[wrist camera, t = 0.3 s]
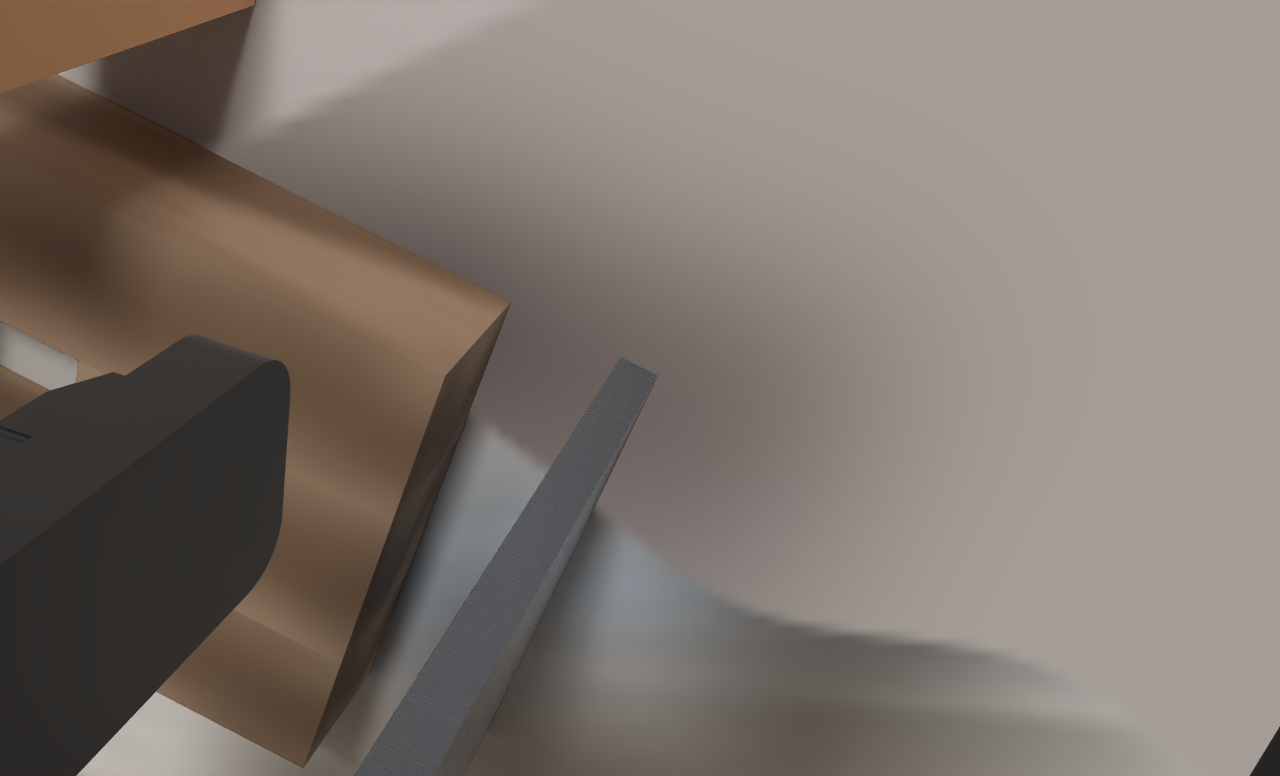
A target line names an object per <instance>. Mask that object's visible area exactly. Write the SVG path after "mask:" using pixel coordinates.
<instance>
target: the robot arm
mask: <svg viewBox="0 0 1280 776" xmlns="http://www.w3.org/2000/svg"><path fill="white" fill-rule="evenodd" d="M290 390H291V385H290V377H289V373H288V370H287V368H286V366H285V365H284V364H283V363H282V362H280V361H278V360H275V359H272V358H269V357H265V356H262V355H259V354H256V353H253V352H250V351H247V350H243V349H240V348H237V347H234V346H231V345H228V344H225V343H222V342H218V341H215V340H212V339H209V338H206V337H203V336H200V335H190V336H186V337H184V338H182V339H180V340H179V341H177V342H176V343H174V344H173V345H171V346H170V347H168V348H166V349H165V350H163V351H162V352H160V353H159V354H157V355H156V356H154V357H153V358H151V359H150V360H148V361H147V362H145V363H144V364H142V365H141V366H139V367H138V368H136V369H135V370H133V371H132V372H130V373H129V374H127V375H125V376H124V375H121V374H118V373H115V372H111V373H108V374H105V375H101V376H98V377H95V378H91V379H88V380H84V381H81V382H78V383H74V384H71V385H68V386H64V387H61V388H58V389H54V390H51V391H47V392H45V393H44V394H42V395H40V396H39V397H37V398H36V399H34V400H32V401H31V402H29V403H28V404H26V405H24V406H23V407H21V408H20V409H18V410H16V411H15V412H13V413H11V414H10V415H8V416H7V417H5V418H3V419H2V420H0V776H76V775H77V774H78V773H79V772H80V771H81V770H82V769H83V768H84V767H85V766H86V765H87V764H88V763H89V762H90V761H91V759H92V758H93V757H94V756H95V755H96V754H97V753H98V752H99V751H100V750H101V749H102V748H103V747H104V746H105V745H106V744H107V743H108V742H109V740H110V739H111V738H112V737H113V736H114V735H115V734H116V733H117V732H118V731H119V730H120V729H121V728H122V727H123V726H124V725H125V724H126V723H127V721H128V720H129V719H130V718H131V717H132V716H133V715H134V714H135V713H136V712H137V711H138V710H139V709H140V708H141V707H142V706H143V705H144V704H145V702H146V701H147V700H148V699H149V698H150V697H151V696H152V695H153V694H154V693H155V692H156V691H157V690H158V689H159V688H160V687H161V686H162V685H163V683H164V682H165V681H166V680H167V679H168V678H169V677H170V676H171V675H172V674H173V673H174V672H175V671H176V670H177V669H178V668H179V667H180V665H181V664H182V663H183V662H184V661H185V660H186V659H187V658H188V657H189V656H190V655H191V654H192V653H193V652H194V651H195V650H196V649H197V648H198V646H199V645H200V644H201V643H202V642H203V641H204V640H205V639H206V638H207V637H208V636H209V635H210V634H211V633H212V632H213V631H214V630H215V629H216V627H217V626H218V625H219V624H220V623H221V622H222V621H223V620H224V619H225V618H226V617H227V616H228V615H229V614H230V613H231V612H232V611H233V610H234V608H235V607H236V606H237V605H238V604H239V603H240V602H241V601H242V600H243V599H244V598H245V597H246V596H247V595H248V594H249V592H250V591H251V590H252V589H253V588H254V586H255V585H256V584H257V582H258V581H259V579H260V578H261V576H262V574H263V573H264V571H265V569H266V567H267V565H268V563H269V561H270V559H271V556H272V554H273V552H274V549H275V546H276V543H277V540H278V536H279V533H280V528H281V522H282V513H283V498H284V483H285V468H286V453H287V438H288V423H289V408H290ZM1250 776H1280V727H1279V729H1278V731H1277V732H1276V734H1275V735H1274V737H1273V739H1272V740H1271V742H1270V744H1269V745H1268V747H1267V748H1266V750H1265V752H1264V753H1263V755H1262V757H1261V758H1260V760H1259V761H1258V763H1257V765H1256V766H1255V768H1254V770H1253V771H1252V773H1251V775H1250Z"/></svg>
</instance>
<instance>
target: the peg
mask: <svg viewBox="0 0 1280 776" xmlns="http://www.w3.org/2000/svg"><path fill="white" fill-rule="evenodd" d="M254 4H255V0H0V93H3V92H6V91H9V90H12V89H15V88H18V87H21V86H23V85H26V84H29V83H32V82H35V81H38V80H41V79H44V78H46V77H49V76H52V75H55V74H58V73H61V72H64V71H67V70H69V69H72V68H75V67H78V66H81V65H84V64H87V63H90V62H92V61H95V60H98V59H101V58H104V57H107V56H110V55H113V54H115V53H118V52H121V51H124V50H127V49H130V48H133V47H136V46H138V45H141V44H144V43H147V42H150V41H153V40H156V39H159V38H161V37H164V36H167V35H170V34H173V33H176V32H179V31H182V30H184V29H187V28H190V27H193V26H196V25H199V24H202V23H205V22H207V21H210V20H213V19H216V18H219V17H222V16H225V15H228V14H231V13H233V12H236V11H239V10H242V9H245V8H248V7H251V6H254Z"/></svg>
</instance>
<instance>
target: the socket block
mask: <svg viewBox="0 0 1280 776" xmlns="http://www.w3.org/2000/svg"><path fill="white" fill-rule="evenodd" d="M510 303H511V302H509V301H507V300H505V299H503V298H501V297H499V296H497V295H495V294H493V293H491V292H489V291H487V290H485V289H483V288H481V287H479V286H477V285H475V284H473V283H471V282H469V281H467V280H465V279H463V278H461V277H459V276H457V275H455V274H453V273H451V272H449V271H447V270H445V269H443V268H441V267H439V266H437V265H435V264H433V263H431V262H429V261H427V260H425V259H423V258H421V257H419V256H417V255H415V254H413V253H411V252H409V251H407V250H405V249H403V248H401V247H399V246H398V245H395V244H393V243H392V242H389V241H388V240H386V239H384V238H382V237H380V236H377V235H376V234H374V233H372V232H369V231H368V230H366V229H364V228H362V227H360V226H357V225H355V224H354V223H352V222H350V221H348V220H346V219H344V218H342V217H339V216H338V215H336V214H334V213H331V212H329V211H328V210H326V209H324V208H322V207H320V206H318V205H316V204H314V203H312V202H309V201H308V200H306V199H304V198H302V197H300V196H298V195H296V194H294V193H292V192H290V191H288V190H286V189H284V188H282V187H280V186H278V185H276V184H274V183H272V182H270V181H268V180H266V179H264V178H262V177H260V176H258V175H256V174H254V173H252V172H250V171H248V170H246V169H243V168H242V167H240V166H238V165H236V164H234V163H232V162H230V161H228V160H226V159H224V158H222V157H220V156H218V155H216V154H214V153H212V152H210V151H208V150H206V149H204V148H202V147H200V146H198V145H196V144H194V143H192V142H190V141H188V140H186V139H184V138H182V137H180V136H178V135H176V134H174V133H172V132H170V131H168V130H166V129H164V128H162V127H160V126H158V125H156V124H154V123H152V122H150V121H148V120H146V119H144V118H142V117H140V116H138V115H136V114H134V113H132V112H130V111H128V110H126V109H124V108H122V107H120V106H118V105H116V104H114V103H112V102H110V101H108V100H106V99H104V98H102V97H100V96H98V95H96V94H94V93H92V92H90V91H88V90H86V89H84V88H82V87H80V86H78V85H76V84H74V83H72V82H70V81H68V80H66V79H64V78H62V77H60V76H58V75H56V74H55V75H52V76H49V77H46V78H44V79H41V80H38V81H35V82H32V83H29V84H26V85H23V86H21V87H18V88H15V89H12V90H9V91H6V92H3V93H0V321H2V322H4V323H6V324H8V325H10V326H12V327H14V328H16V329H18V330H20V331H22V332H24V333H26V334H28V335H29V336H31V337H33V338H35V339H37V340H39V341H41V342H43V343H45V344H47V345H49V346H51V347H53V348H55V349H57V350H59V351H61V352H63V353H65V354H67V355H69V356H71V357H73V358H74V359H76V360H78V361H79V364H78V370H77V376H76V383H78V382H81V381H84V380H88V379H91V378H95V377H98V376H101V375H105V374H108V373H111V372H115V373H118V374H121V375H124V376H125V375H127V374H129V373H130V372H132V371H133V370H135V369H136V368H138V367H139V366H141V365H142V364H144V363H145V362H147V361H148V360H150V359H151V358H153V357H154V356H156V355H157V354H159V353H160V352H162V351H163V350H165V349H166V348H168V347H170V346H171V345H173V344H174V343H176V342H177V341H179V340H180V339H182V338H184V337H186V336H190V335H200V336H203V337H206V338H209V339H212V340H215V341H218V342H222V343H225V344H228V345H231V346H234V347H237V348H240V349H243V350H247V351H250V352H253V353H256V354H259V355H262V356H265V357H269V358H272V359H275V360H278V361H280V362H282V363H283V364H284V365H285V366H286V368H287V370H288V373H289V377H290V385H291V390H290V408H289V423H288V438H287V453H286V468H285V483H284V498H283V513H282V522H281V528H280V533H279V536H278V540H277V543H276V546H275V549H274V552H273V554H272V556H271V559H270V561H269V563H268V565H267V567H266V569H265V571H264V573H263V574H262V576H261V578H260V579H259V581H258V582H257V584H256V585H255V586H254V588H253V589H252V590H251V591H250V592H249V594H248V595H247V596H246V597H245V598H244V599H243V600H242V601H241V602H240V603H239V604H238V605H237V606H236V607H235V608H234V610H233V611H232V612H231V613H230V614H229V615H228V616H227V617H226V618H225V619H224V620H223V621H222V622H221V623H220V624H219V625H218V626H217V627H216V629H215V630H214V631H213V632H212V633H211V634H210V635H209V636H208V637H207V638H206V639H205V640H204V641H203V642H202V643H201V644H200V645H199V646H198V648H197V649H196V650H195V651H194V652H193V653H192V654H191V655H190V656H189V657H188V658H187V659H186V660H185V661H184V662H183V663H182V664H181V665H180V667H179V668H178V669H177V670H176V671H175V672H174V673H173V674H172V675H171V676H170V677H169V678H168V679H167V680H166V681H165V682H164V683H163V685H162V686H161V687H160V688H159V689H158V690H157V691H156V692H158V693H160V694H162V695H163V696H165V697H167V698H169V699H171V700H173V701H175V702H177V703H179V704H181V705H183V706H185V707H187V708H188V709H190V710H192V711H194V712H196V713H198V714H200V715H202V716H204V717H206V718H208V719H210V720H212V721H213V722H215V723H217V724H219V725H221V726H223V727H225V728H227V729H229V730H231V731H233V732H235V733H236V734H238V735H240V736H242V737H244V738H246V739H248V740H250V741H252V742H254V743H256V744H258V745H260V746H261V747H263V748H265V749H267V750H269V751H271V752H273V753H275V754H277V755H279V756H281V757H283V758H284V759H286V760H288V761H290V762H292V763H294V764H296V765H298V766H300V767H302V768H304V766H305V765H306V763H307V762H308V761H309V759H310V758H311V756H312V755H313V753H314V752H315V750H316V749H317V748H318V746H319V745H320V743H321V742H322V740H323V739H324V737H325V736H326V735H327V733H328V732H329V730H330V729H331V727H332V726H333V724H334V723H335V722H336V720H337V719H338V717H339V716H340V714H341V713H342V711H343V710H344V709H345V707H346V706H347V704H348V703H349V701H350V700H351V698H352V697H353V696H354V694H355V693H356V691H357V690H358V688H359V687H360V685H361V684H362V683H363V681H364V680H365V678H366V677H367V675H368V674H369V672H370V669H371V667H372V664H373V661H374V659H375V656H376V653H377V651H378V648H379V646H380V643H381V640H382V638H383V635H384V633H385V630H386V627H387V625H388V622H389V620H390V617H391V614H392V612H393V609H394V606H395V604H396V601H397V599H398V596H399V593H400V591H401V588H402V586H403V583H404V580H405V578H406V575H407V572H408V570H409V567H410V565H411V562H412V559H413V557H414V554H415V552H416V549H417V546H418V544H419V541H420V539H421V536H422V533H423V531H424V528H425V525H426V523H427V520H428V518H429V515H430V512H431V510H432V507H433V505H434V502H435V499H436V497H437V494H438V492H439V489H440V486H441V484H442V481H443V478H444V476H445V473H446V471H447V468H448V465H449V463H450V460H451V458H452V455H453V452H454V450H455V447H456V445H457V442H458V439H459V437H460V434H461V431H462V429H463V426H464V424H465V421H466V418H467V416H468V413H469V411H470V408H471V405H472V403H473V400H474V398H475V395H476V392H477V390H478V387H479V384H480V382H481V379H482V377H483V374H484V371H485V369H486V366H487V364H488V361H489V358H490V356H491V353H492V351H493V347H494V345H495V342H496V340H497V337H498V335H499V332H500V330H501V327H502V324H503V322H504V319H505V316H506V314H507V311H508V308H509V306H510ZM47 391H49V390H47V389H46V388H44V387H42V386H40V385H38V384H36V383H34V382H32V381H30V380H28V379H26V378H24V377H22V376H20V375H18V374H16V373H14V372H12V371H10V370H8V369H6V368H5V367H3V366H1V365H0V420H2V419H3V418H5V417H7V416H8V415H10V414H11V413H13V412H15V411H16V410H18V409H20V408H21V407H23V406H24V405H26V404H28V403H29V402H31V401H32V400H34V399H36V398H37V397H39V396H40V395H42V394H44V393H45V392H47Z"/></svg>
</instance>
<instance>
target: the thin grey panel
mask: <svg viewBox="0 0 1280 776" xmlns="http://www.w3.org/2000/svg"><path fill="white" fill-rule="evenodd" d="M656 378H657V375H655V374H653V373H651V372H649V371H647V370H645V369H643V368H641V367H639V366H637V365H635V364H633V363H631V362H629V361H627V360H625V359H623V358H620V360H619V361H618V363H617V364H616V366H615V367H614V369H613V371H612V372H611V374H610V375H609V377H608V379H607V380H606V382H605V383H604V385H603V386H602V388H601V390H600V391H599V393H598V394H597V396H596V397H595V399H594V401H593V402H592V404H591V405H590V407H589V408H588V410H587V411H586V413H585V415H584V416H583V418H582V419H581V421H580V422H579V424H578V426H577V427H576V429H575V430H574V432H573V433H572V435H571V436H570V438H569V440H568V441H567V443H566V444H565V446H564V448H563V449H562V451H561V452H560V454H559V455H558V457H557V459H556V460H555V462H554V463H553V465H552V466H551V468H550V469H549V471H548V473H547V474H546V476H545V477H544V479H543V480H542V482H541V483H540V485H539V487H538V488H537V490H536V491H535V493H534V494H533V496H532V498H531V499H530V501H529V502H528V504H527V505H526V507H525V509H524V510H523V512H522V513H521V515H520V516H519V518H518V520H517V521H516V523H515V524H514V526H513V527H512V529H511V531H510V532H509V534H508V535H507V537H506V538H505V540H504V542H503V543H502V545H501V546H500V548H499V549H498V551H497V552H496V554H495V556H494V557H493V559H492V560H491V562H490V563H489V565H488V567H487V568H486V570H485V571H484V573H483V574H482V576H481V578H480V579H479V581H478V582H477V584H476V585H475V587H474V589H473V590H472V592H471V593H470V595H469V596H468V598H467V600H466V601H465V603H464V604H463V606H462V607H461V609H460V611H459V612H458V614H457V615H456V617H455V618H454V620H453V622H452V623H451V625H450V626H449V628H448V629H447V631H446V632H445V634H444V636H443V637H442V639H441V640H440V642H439V643H438V645H437V647H436V648H435V650H434V651H433V653H432V654H431V656H430V658H429V659H428V661H427V662H426V664H425V665H424V667H423V669H422V670H421V672H420V673H419V675H418V676H417V678H416V680H415V681H414V683H413V684H412V686H411V687H410V689H409V691H408V692H407V694H406V695H405V697H404V698H403V700H402V701H401V703H400V705H399V706H398V708H397V709H396V711H395V712H394V714H393V716H392V717H391V719H390V720H389V722H388V723H387V725H386V727H385V728H384V730H383V731H382V733H381V734H380V736H379V738H378V739H377V741H376V742H375V744H374V745H373V747H372V749H371V750H370V752H369V753H368V755H367V756H366V758H365V760H364V761H363V763H362V764H361V766H360V767H359V769H358V770H357V772H356V774H355V775H354V776H463V775H464V773H465V772H466V770H467V768H468V766H469V764H470V762H471V760H472V758H473V757H474V755H475V753H476V751H477V749H478V747H479V745H480V743H481V742H482V740H483V738H484V736H485V734H486V732H487V730H488V728H489V726H490V724H491V722H492V720H493V717H494V715H495V713H496V711H497V709H498V707H499V705H500V703H501V701H502V699H503V697H504V695H505V692H506V690H507V688H508V686H509V684H510V682H511V680H512V678H513V676H514V674H515V672H516V670H517V668H518V665H519V663H520V661H521V659H522V657H523V655H524V653H525V651H526V649H527V647H528V645H529V643H530V640H531V638H532V636H533V634H534V632H535V630H536V628H537V626H538V624H539V622H540V620H541V618H542V616H543V613H544V611H545V609H546V607H547V605H548V603H549V601H550V599H551V597H552V595H553V593H554V591H555V588H556V586H557V584H558V582H559V580H560V578H561V576H562V574H563V572H564V570H565V568H566V566H567V564H568V561H569V559H570V557H571V555H572V553H573V551H574V549H575V547H576V545H577V543H578V541H579V539H580V536H581V534H582V532H583V530H584V528H585V526H586V524H587V522H588V520H589V518H590V516H591V514H592V512H593V509H594V507H595V505H596V503H597V501H598V499H599V497H600V495H601V493H602V491H603V488H604V486H605V484H606V482H607V480H608V478H609V476H610V474H611V472H612V470H613V468H614V466H615V464H616V462H617V460H618V457H619V455H620V453H621V451H622V449H623V447H624V445H625V443H626V441H627V439H628V436H629V435H630V432H631V430H632V428H633V426H634V424H635V422H636V420H637V418H638V416H639V414H640V412H641V410H642V407H643V405H644V403H645V401H646V399H647V397H648V395H649V393H650V391H651V389H652V387H653V385H654V382H655V380H656Z"/></svg>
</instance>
